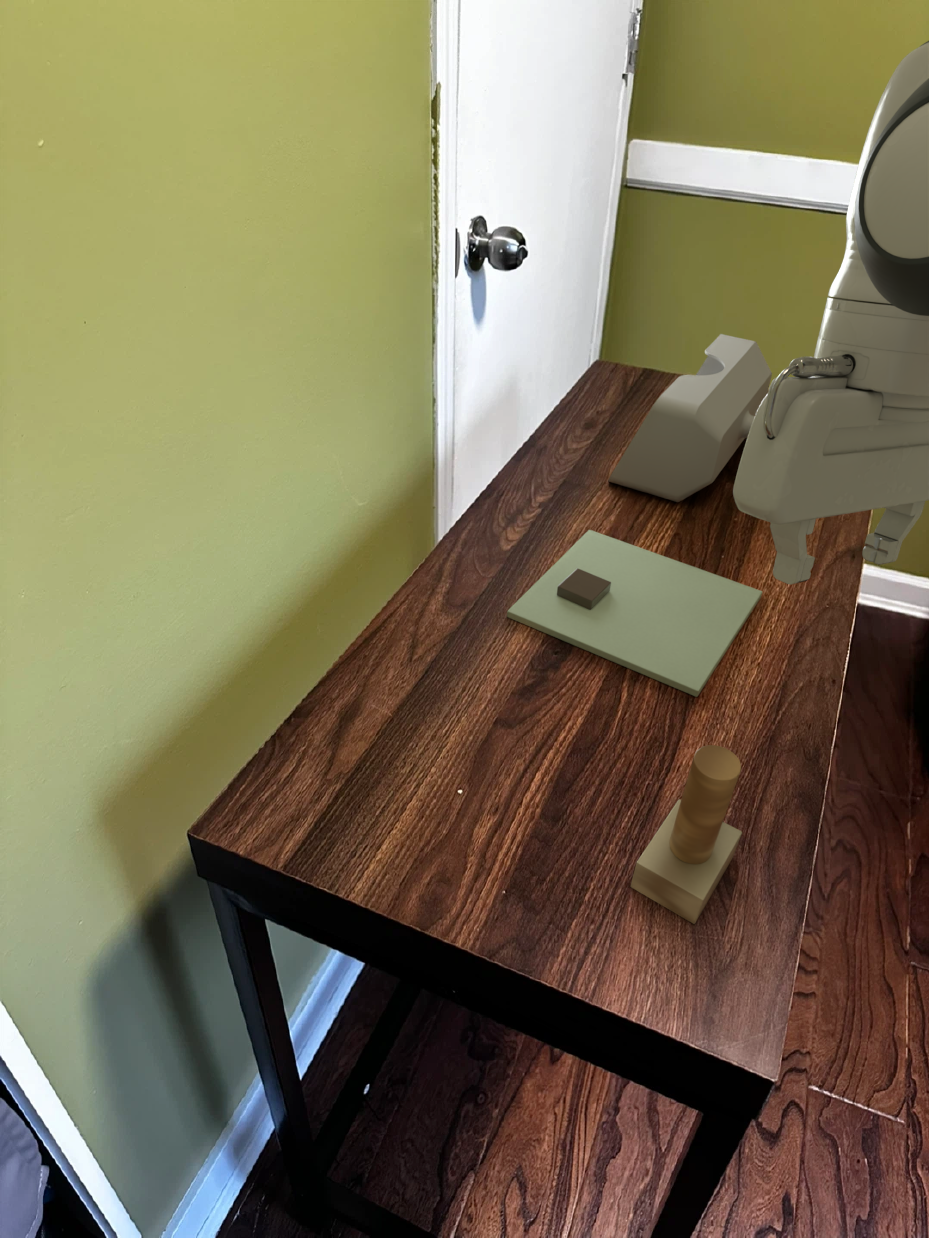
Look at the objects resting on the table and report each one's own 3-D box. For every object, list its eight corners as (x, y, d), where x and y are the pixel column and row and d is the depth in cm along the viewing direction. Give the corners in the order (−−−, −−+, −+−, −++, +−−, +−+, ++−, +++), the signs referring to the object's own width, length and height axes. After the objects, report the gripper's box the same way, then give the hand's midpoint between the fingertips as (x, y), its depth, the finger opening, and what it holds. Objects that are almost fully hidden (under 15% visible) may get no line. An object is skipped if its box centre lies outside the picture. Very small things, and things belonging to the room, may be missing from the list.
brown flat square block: (610, 591, 88) (611, 581, 87) (590, 610, 85) (592, 601, 84) (576, 577, 89) (577, 567, 89) (556, 595, 87) (557, 585, 86)
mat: (761, 597, 89) (763, 591, 88) (697, 697, 77) (698, 691, 76) (588, 535, 97) (589, 529, 96) (506, 617, 85) (506, 610, 85)
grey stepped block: (731, 523, 100) (757, 425, 92) (604, 485, 106) (618, 389, 98) (785, 439, 117) (812, 350, 109) (673, 410, 123) (690, 323, 115)
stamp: (733, 856, 64) (774, 747, 56) (694, 924, 59) (733, 816, 52) (671, 823, 66) (703, 713, 58) (630, 886, 62) (658, 777, 54)
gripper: (830, 366, 44) (770, 613, 49) (1031, 362, 54) (963, 566, 60) (734, 348, 48) (690, 575, 54) (937, 347, 59) (882, 538, 65)
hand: (835, 570), depth 57 cm, fingers open, 8 cm apart
